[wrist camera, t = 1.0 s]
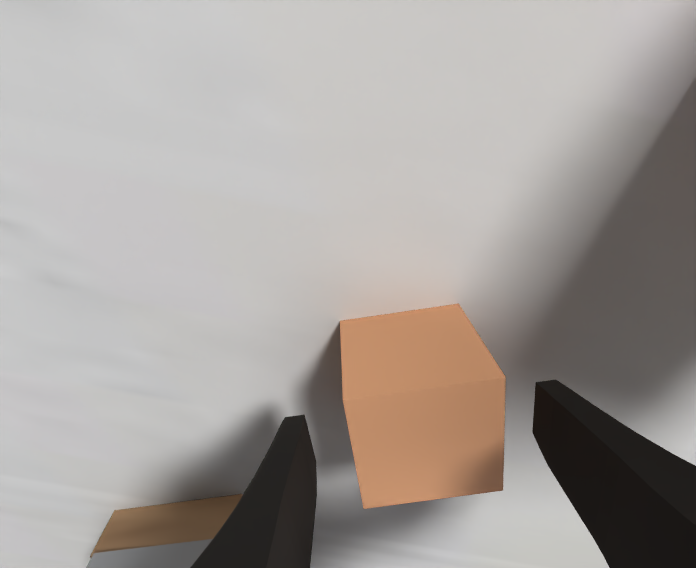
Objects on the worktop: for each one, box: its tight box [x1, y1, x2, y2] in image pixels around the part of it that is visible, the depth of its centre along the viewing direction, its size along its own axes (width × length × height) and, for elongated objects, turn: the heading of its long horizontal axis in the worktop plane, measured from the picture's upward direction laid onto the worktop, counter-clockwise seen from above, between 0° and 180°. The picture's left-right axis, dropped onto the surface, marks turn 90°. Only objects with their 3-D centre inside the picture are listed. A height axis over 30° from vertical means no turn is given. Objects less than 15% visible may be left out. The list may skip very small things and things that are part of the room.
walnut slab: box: [90, 494, 243, 557], centre depth 19 cm, size 6×6×2 cm
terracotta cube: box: [340, 304, 506, 509], centre depth 14 cm, size 4×4×4 cm
